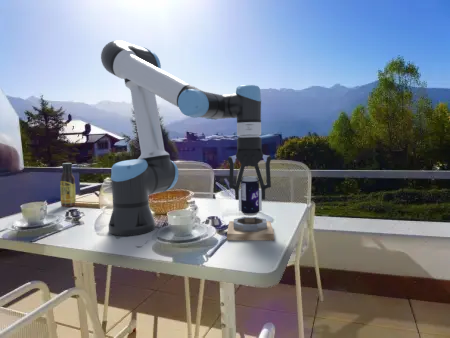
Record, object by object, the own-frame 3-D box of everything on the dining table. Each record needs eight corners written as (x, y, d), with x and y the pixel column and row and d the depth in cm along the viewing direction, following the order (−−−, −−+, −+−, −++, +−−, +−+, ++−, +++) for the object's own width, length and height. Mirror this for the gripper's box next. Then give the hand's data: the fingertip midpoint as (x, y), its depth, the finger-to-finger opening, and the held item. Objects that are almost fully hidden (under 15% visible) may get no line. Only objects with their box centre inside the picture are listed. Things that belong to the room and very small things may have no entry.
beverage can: (253, 217, 99) (252, 178, 98) (237, 214, 103) (237, 177, 102) (262, 213, 104) (262, 176, 103) (247, 211, 107) (247, 175, 106)
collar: (233, 231, 99) (233, 225, 99) (234, 222, 109) (234, 216, 109) (267, 232, 98) (267, 225, 98) (265, 222, 109) (265, 216, 108)
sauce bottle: (57, 207, 148) (54, 163, 146) (68, 204, 154) (65, 162, 152) (69, 207, 146) (66, 163, 144) (79, 204, 152) (76, 162, 150)
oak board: (227, 240, 98) (227, 233, 97) (229, 226, 111) (229, 221, 111) (273, 240, 97) (273, 233, 96) (270, 227, 111) (270, 221, 110)
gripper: (218, 137, 98) (220, 212, 100) (280, 136, 96) (281, 212, 99) (220, 137, 105) (221, 207, 107) (278, 135, 104) (278, 206, 106)
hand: (250, 209), depth 103 cm, fingers closed on beverage can, 6 cm apart
